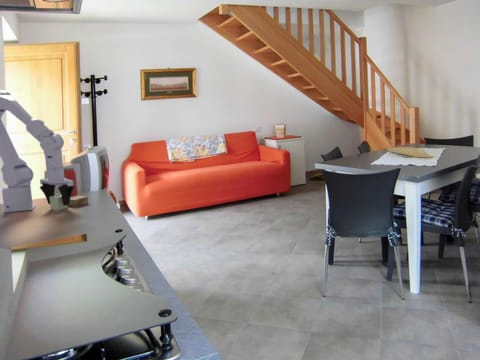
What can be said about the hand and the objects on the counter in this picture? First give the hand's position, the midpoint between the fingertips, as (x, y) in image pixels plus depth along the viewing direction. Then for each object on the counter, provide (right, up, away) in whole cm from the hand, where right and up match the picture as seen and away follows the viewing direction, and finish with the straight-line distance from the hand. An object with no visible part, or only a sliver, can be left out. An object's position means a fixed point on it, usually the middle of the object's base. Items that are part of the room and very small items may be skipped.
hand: (58, 204), depth 156 cm
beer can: (-5, +2, +22) cm, 23 cm away
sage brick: (0, -2, 0) cm, 2 cm away
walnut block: (+4, -1, +7) cm, 8 cm away
